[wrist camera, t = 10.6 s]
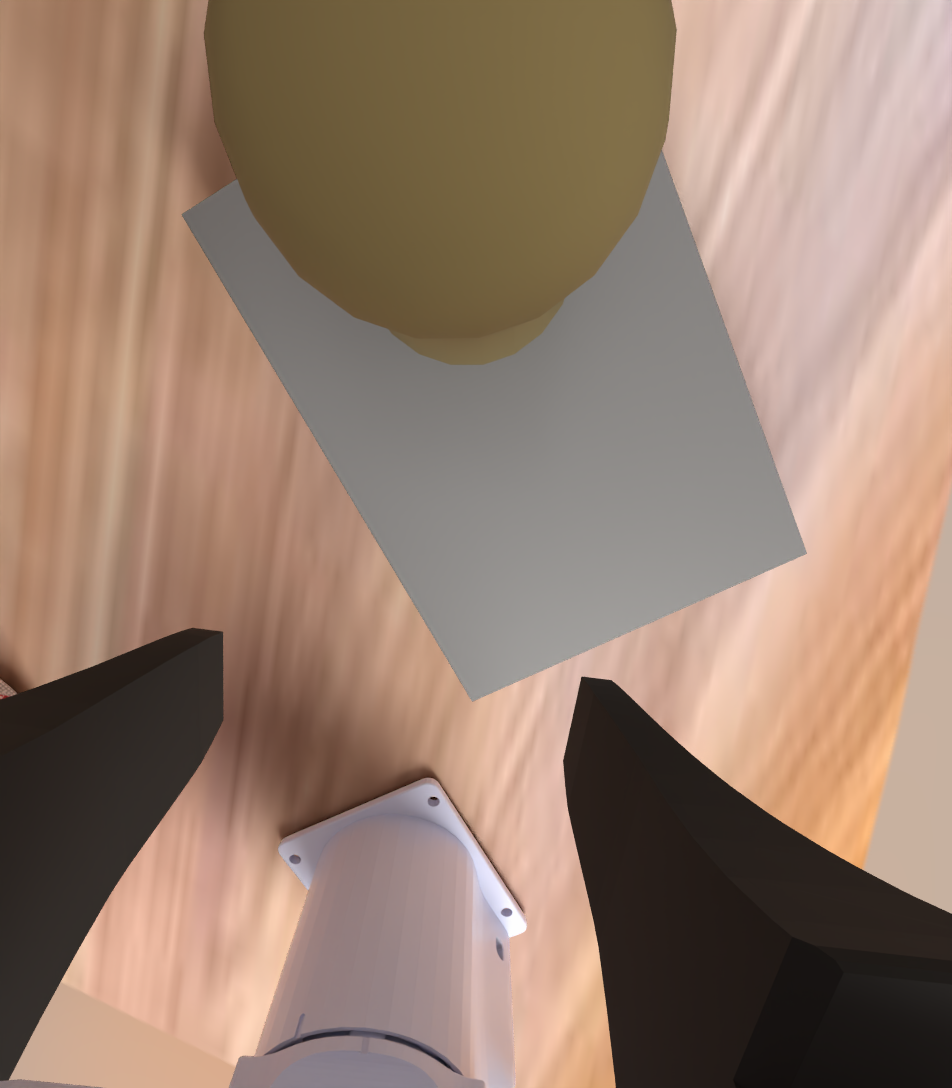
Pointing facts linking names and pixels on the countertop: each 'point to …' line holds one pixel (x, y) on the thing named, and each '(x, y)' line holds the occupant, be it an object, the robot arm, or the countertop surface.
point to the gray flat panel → (534, 446)
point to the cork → (443, 151)
